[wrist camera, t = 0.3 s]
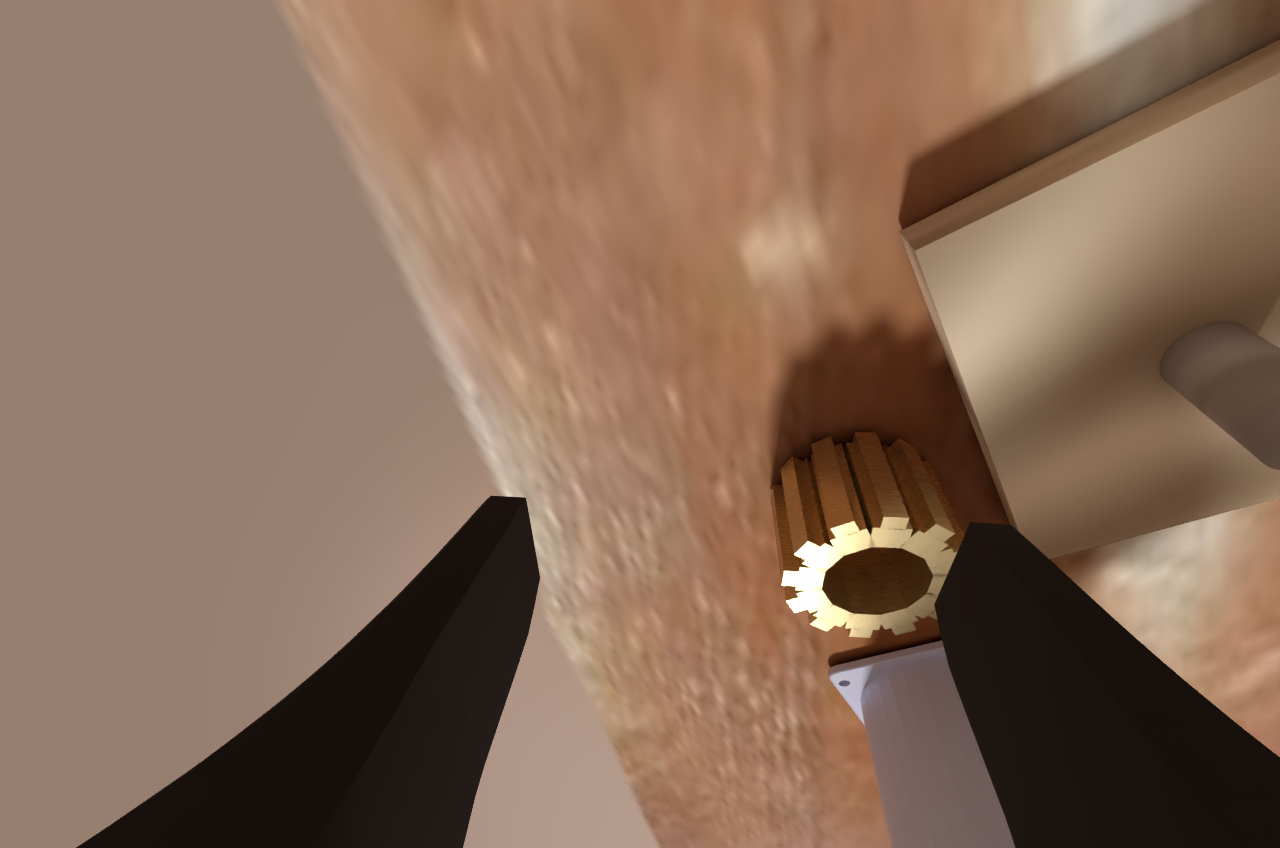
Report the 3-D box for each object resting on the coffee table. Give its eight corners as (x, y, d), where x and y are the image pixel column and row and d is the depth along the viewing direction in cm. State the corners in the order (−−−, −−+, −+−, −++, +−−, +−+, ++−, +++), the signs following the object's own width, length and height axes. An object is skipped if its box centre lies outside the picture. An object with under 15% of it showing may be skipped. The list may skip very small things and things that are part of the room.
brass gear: (954, 518, 22) (997, 610, 18) (807, 564, 24) (823, 652, 20) (904, 407, 19) (945, 491, 16) (744, 469, 21) (751, 554, 18)
